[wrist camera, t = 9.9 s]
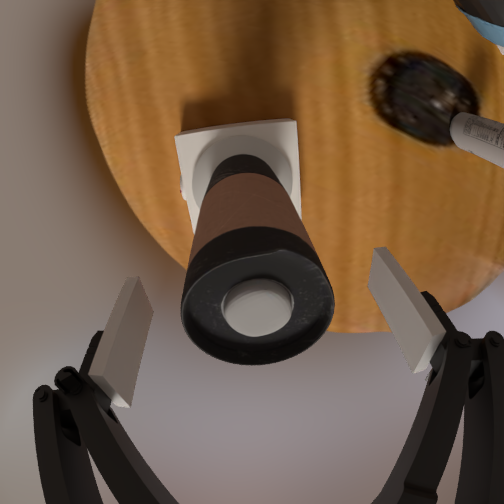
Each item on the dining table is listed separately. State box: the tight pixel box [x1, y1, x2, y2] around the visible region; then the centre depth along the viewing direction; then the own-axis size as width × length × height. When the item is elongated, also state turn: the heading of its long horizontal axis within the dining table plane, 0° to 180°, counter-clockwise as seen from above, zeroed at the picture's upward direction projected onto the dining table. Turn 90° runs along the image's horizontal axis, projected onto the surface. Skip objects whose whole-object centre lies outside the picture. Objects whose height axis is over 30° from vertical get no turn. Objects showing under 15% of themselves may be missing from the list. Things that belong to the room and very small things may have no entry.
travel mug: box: [181, 154, 335, 365], centre depth 22 cm, size 8×8×20 cm
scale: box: [174, 118, 301, 235], centre depth 32 cm, size 13×14×5 cm
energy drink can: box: [450, 112, 504, 168], centre depth 25 cm, size 6×6×15 cm
